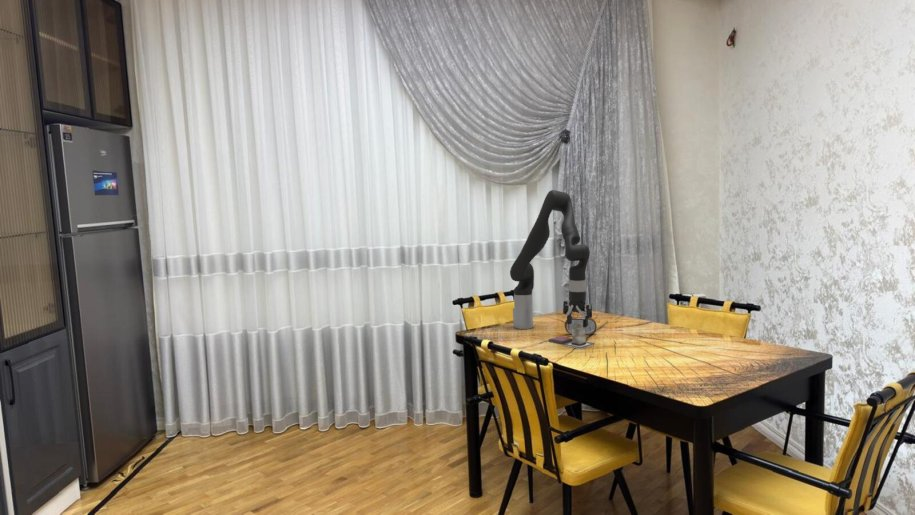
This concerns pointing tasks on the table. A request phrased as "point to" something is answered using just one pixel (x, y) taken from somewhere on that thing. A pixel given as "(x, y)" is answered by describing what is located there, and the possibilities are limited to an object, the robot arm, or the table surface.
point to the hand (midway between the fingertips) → (577, 325)
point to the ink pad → (560, 340)
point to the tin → (579, 320)
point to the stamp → (578, 336)
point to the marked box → (579, 346)
